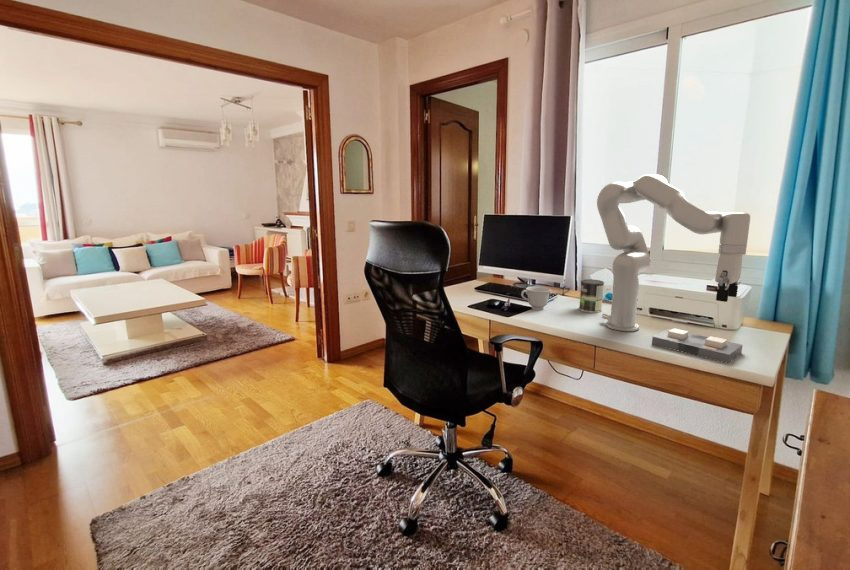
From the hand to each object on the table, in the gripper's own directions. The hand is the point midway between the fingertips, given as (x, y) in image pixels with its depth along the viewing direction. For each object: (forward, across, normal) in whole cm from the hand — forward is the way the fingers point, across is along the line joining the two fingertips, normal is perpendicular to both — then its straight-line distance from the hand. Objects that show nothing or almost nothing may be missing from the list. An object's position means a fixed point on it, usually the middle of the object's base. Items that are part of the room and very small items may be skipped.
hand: (726, 298), depth 145 cm
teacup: (+18, +2, -77) cm, 79 cm away
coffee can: (+18, -16, -58) cm, 63 cm away
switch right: (+17, +5, 0) cm, 17 cm away
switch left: (+16, +5, -12) cm, 21 cm away
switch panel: (+19, +5, -6) cm, 20 cm away
